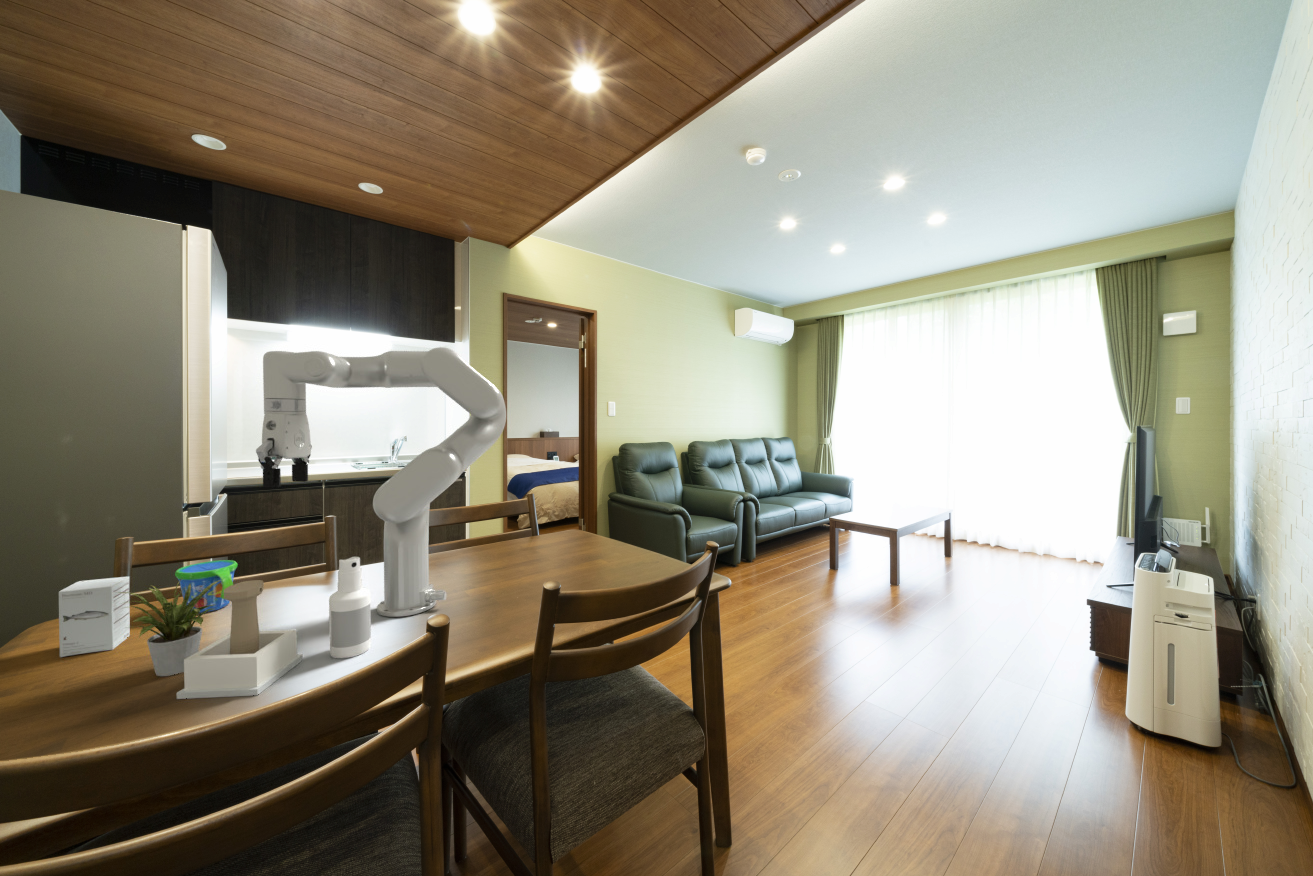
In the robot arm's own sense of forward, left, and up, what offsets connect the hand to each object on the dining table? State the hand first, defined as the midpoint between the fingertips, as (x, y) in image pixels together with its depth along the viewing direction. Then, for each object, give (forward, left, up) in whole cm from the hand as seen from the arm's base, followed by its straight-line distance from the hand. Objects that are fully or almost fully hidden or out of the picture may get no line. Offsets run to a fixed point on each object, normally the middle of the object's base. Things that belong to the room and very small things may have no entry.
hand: (286, 484), depth 110 cm
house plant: (+6, +23, -31) cm, 39 cm away
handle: (-9, +27, -30) cm, 41 cm away
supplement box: (+28, +12, -31) cm, 43 cm away
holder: (-9, +27, -30) cm, 42 cm away
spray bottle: (-22, +18, -31) cm, 42 cm away
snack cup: (+22, -7, -31) cm, 38 cm away
